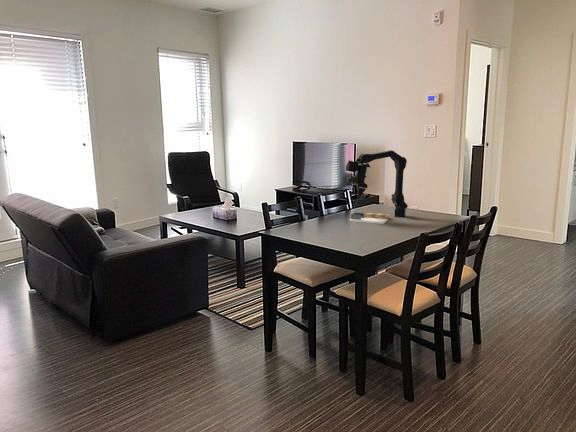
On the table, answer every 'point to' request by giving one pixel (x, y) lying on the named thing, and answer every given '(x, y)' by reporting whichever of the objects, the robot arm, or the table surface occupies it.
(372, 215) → the oak rail
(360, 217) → the bracket plate
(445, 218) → the table surface
